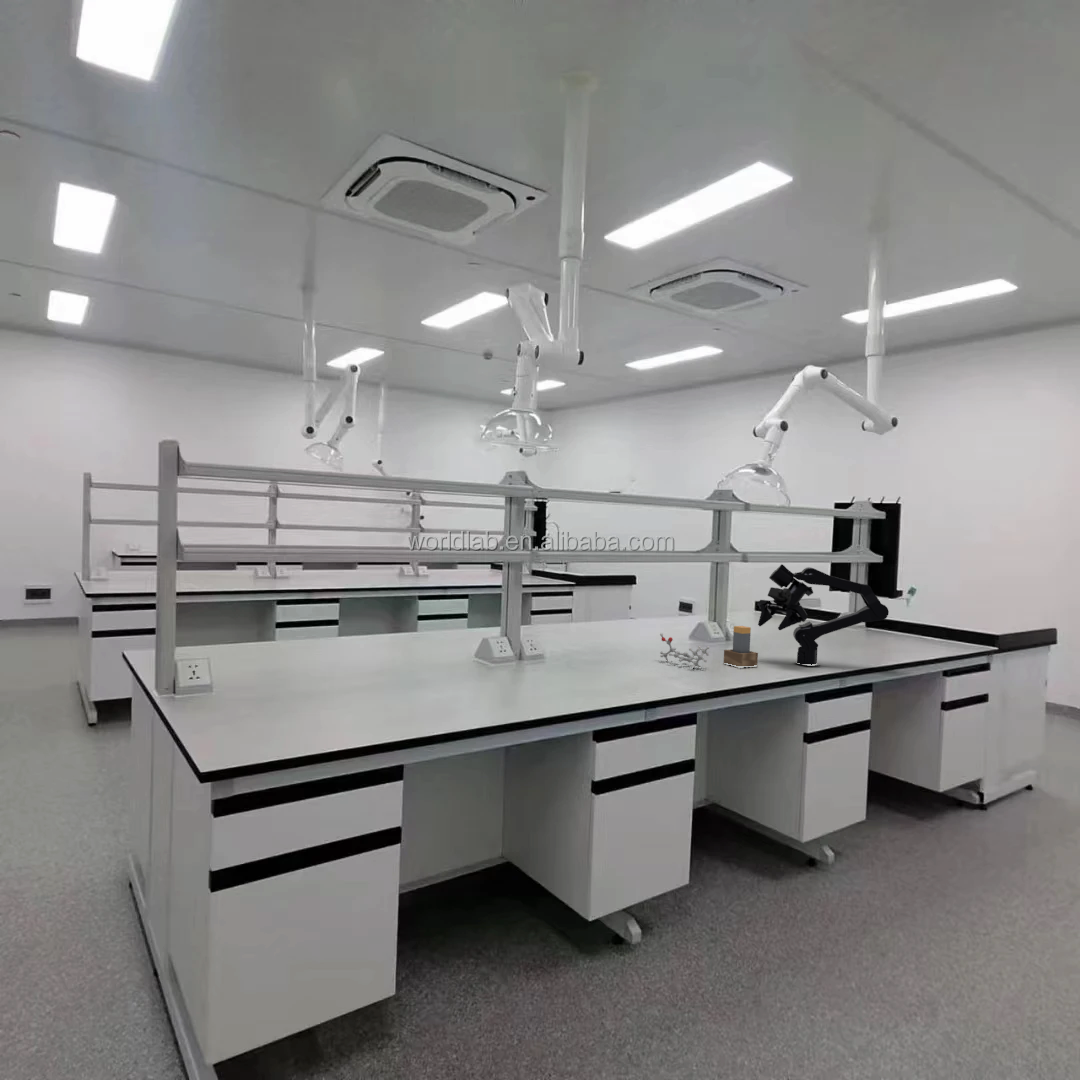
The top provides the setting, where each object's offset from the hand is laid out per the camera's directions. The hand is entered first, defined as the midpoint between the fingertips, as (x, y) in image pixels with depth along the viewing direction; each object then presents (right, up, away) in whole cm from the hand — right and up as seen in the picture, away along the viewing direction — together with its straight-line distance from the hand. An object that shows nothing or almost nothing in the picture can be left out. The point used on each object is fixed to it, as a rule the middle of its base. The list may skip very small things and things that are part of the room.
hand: (768, 627), depth 240 cm
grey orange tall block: (-10, -13, -2) cm, 16 cm away
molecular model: (-31, -13, -5) cm, 34 cm away
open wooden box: (-10, -13, -2) cm, 17 cm away
